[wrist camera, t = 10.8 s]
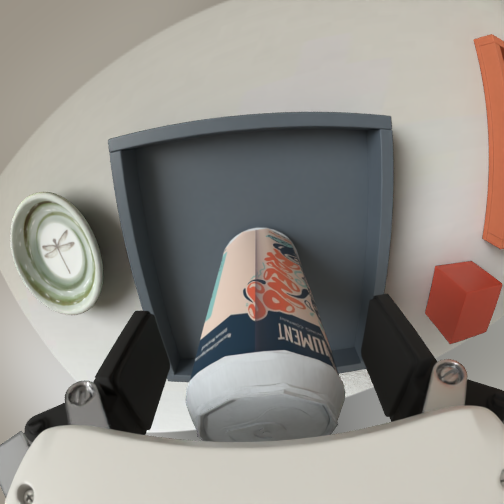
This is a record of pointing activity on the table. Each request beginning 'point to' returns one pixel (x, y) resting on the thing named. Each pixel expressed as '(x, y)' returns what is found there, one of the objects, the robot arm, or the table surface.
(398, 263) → the table surface
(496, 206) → the terracotta tray
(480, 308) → the red block
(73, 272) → the saucer
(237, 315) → the beer can
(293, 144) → the grey tray
